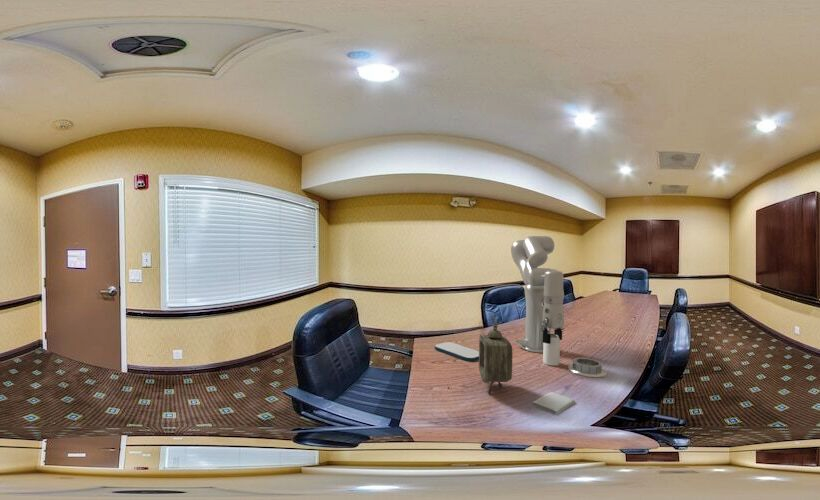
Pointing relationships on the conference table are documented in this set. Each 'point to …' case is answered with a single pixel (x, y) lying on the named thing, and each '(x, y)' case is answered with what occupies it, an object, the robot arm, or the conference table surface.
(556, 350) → the can
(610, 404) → the conference table surface
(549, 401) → the hard drive
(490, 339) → the tabletop clock
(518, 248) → the robot arm
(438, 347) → the external hard drive
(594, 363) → the ring collar
